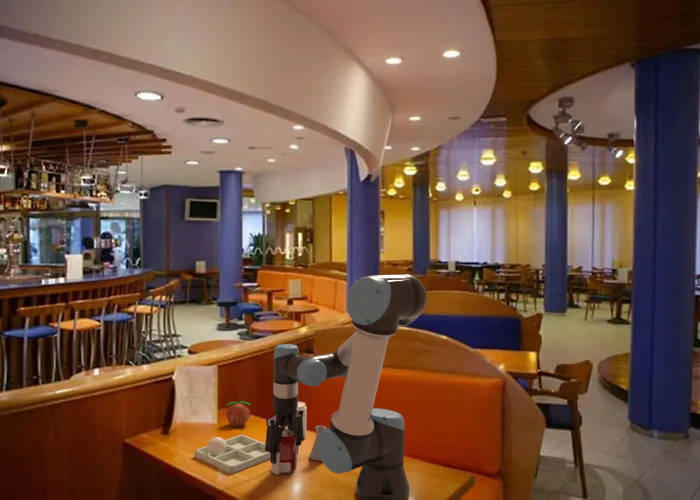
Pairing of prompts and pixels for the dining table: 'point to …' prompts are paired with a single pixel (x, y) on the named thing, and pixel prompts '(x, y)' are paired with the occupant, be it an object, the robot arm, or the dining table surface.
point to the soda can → (287, 452)
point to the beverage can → (303, 407)
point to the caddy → (236, 454)
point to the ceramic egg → (216, 446)
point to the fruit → (238, 413)
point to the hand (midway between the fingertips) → (284, 469)
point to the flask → (314, 452)
